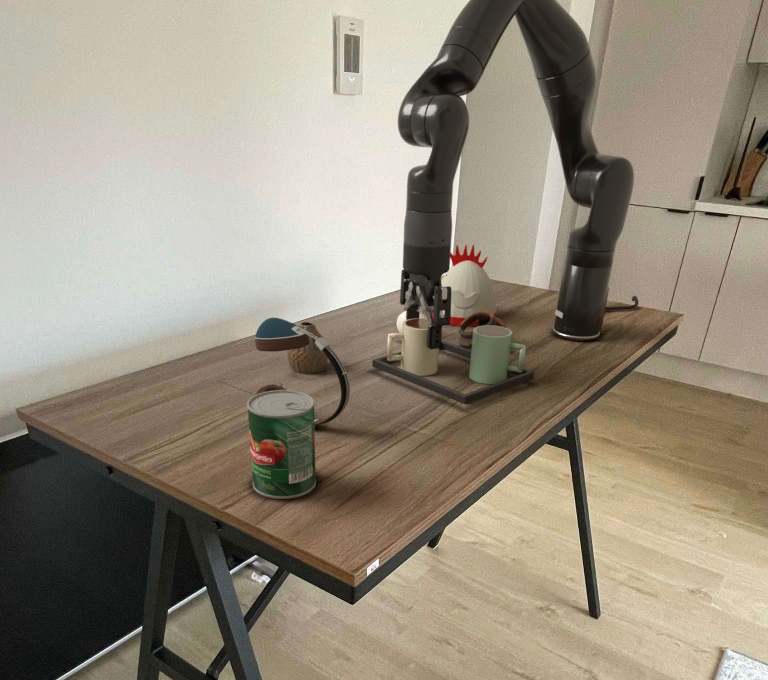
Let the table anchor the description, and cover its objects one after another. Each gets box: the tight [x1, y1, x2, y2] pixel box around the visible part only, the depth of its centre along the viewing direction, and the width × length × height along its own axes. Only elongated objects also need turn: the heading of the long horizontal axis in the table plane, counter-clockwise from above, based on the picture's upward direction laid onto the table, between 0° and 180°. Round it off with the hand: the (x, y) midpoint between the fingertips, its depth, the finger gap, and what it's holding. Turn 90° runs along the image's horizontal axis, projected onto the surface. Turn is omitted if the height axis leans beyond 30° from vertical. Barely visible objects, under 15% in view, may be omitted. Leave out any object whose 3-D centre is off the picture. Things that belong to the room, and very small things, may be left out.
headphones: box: [218, 317, 351, 427], centre depth 101 cm, size 6×15×22 cm
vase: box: [286, 321, 329, 375], centre depth 120 cm, size 7×7×9 cm
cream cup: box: [386, 318, 440, 377], centre depth 120 cm, size 9×6×8 cm
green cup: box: [468, 325, 527, 385], centre depth 117 cm, size 9×6×8 cm
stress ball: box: [396, 310, 427, 333], centre depth 139 cm, size 8×8×7 cm
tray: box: [371, 339, 535, 405], centre depth 121 cm, size 18×22×2 cm
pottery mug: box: [458, 311, 508, 348], centre depth 135 cm, size 12×10×8 cm
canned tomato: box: [246, 389, 317, 500], centre depth 86 cm, size 8×8×11 cm
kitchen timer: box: [432, 243, 497, 327], centre depth 151 cm, size 14×14×15 cm
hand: (422, 340), depth 119 cm, fingers open, 8 cm apart
